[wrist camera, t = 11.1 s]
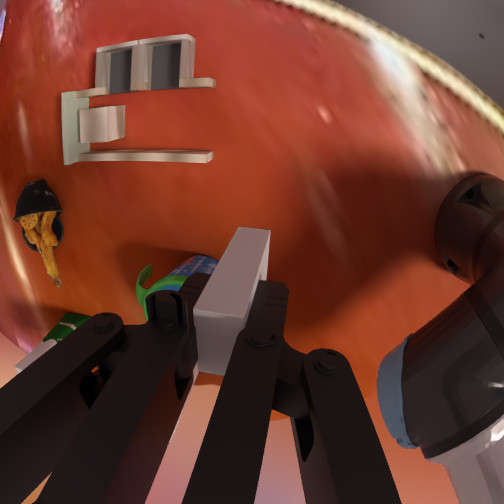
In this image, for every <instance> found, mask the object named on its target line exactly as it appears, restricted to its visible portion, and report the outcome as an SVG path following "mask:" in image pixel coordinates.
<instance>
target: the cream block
mask: <svg viewBox="0 0 504 504" xmlns="http://www.w3.org/2000/svg"><path fill="white" fill-rule="evenodd" d="M124 137H125V105H120V106H109V107H100V108H92V109H85V110H80V140H81V143H95V142H109V141H112V140H116V139H120V138H124Z"/></svg>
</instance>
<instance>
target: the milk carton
mask: <svg viewBox="0 0 504 504" xmlns="http://www.w3.org/2000/svg"><path fill="white" fill-rule="evenodd" d="M89 318H91V317H90V316H83V315H77V314H71V313H66V314H65V315H64V316H63V317H62V319H61V320H60V321H59V322H58V324H57V325H56V326H55V327H54V328H53V329H52V330H51V331H50V332H49V333H48V334H47V336H46V337H45V338H44V339H43V340H42V341H41V342H40V343H39V344H38V345H37V346H36V348H35V349H34V350H33V351H32V352H31V353H30V354H29V355H28V356H26V357H25V358H24V359H23V360H22V361H20V362H19V363H18V364H17V365H15V369H16V371H17V372H18V374H19V373H20V372H21V371H22V370H24V369H25V368H26V367H27V366H29V365H30V364H31V363H32V362H34V361H35V360H36V359H37V358H39V357H40V356H41V355H42V354H44V353H45V352H46V351H48V350H49V349H50V348H51V347H53V346H54V345H55V344H57V343H58V342H59V341H60V340H62V339H63V338H64V337H66V336H67V335H68V334H69V333H71V332H72V331H73V330H75V329H76V328H77V327H79V326H80V325H81V324H83V323H84V322H85V321H87V320H88V319H89Z"/></svg>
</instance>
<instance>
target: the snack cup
mask: <svg viewBox="0 0 504 504" xmlns="http://www.w3.org/2000/svg"><path fill="white" fill-rule="evenodd" d="M218 263H219V262H218V261H217V260H215V259H214V258H211V257H207V256H201V255H195V256H193V257H190V258H188V259H187V260H185V261H184V262H182V263H181V264H180V265H179V266H178V267H177V268H175V269H174V270H173V271H172V272H171V273H169V274H168V275H167V276H166V277H163V278H161V279H160V280H158V281H157V282H155V283H154V284H153V285H152V286H151V287H150V288H149V289H144V288H143V287H142V285H143V284H144V282H145V281H147V280H148V279H149V277H150V276H151V274H152V265H151V264H149V265H147V266H146V267H144V269H143V270H142V271H141V272H140V274H139V276H138V278H137V282H136V297H137V300H138V302H139V303H140V304H141V306H142V307H143V308H144V314H145V317H146V319H147V321H148V315H147V309H146V302H145V298H146V297H147V296H148V295H149V294H151V293H153V292H155V291H159V290H174V291H178V290H179V289H180V287H181V286H182V284H183V283H184V281H185V280H186V278H187V277H189V276H190V275H192V274H194V273H195V272H200V273H207V274H213V272H214V270H215V268H216V266H217V265H218Z"/></svg>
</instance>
